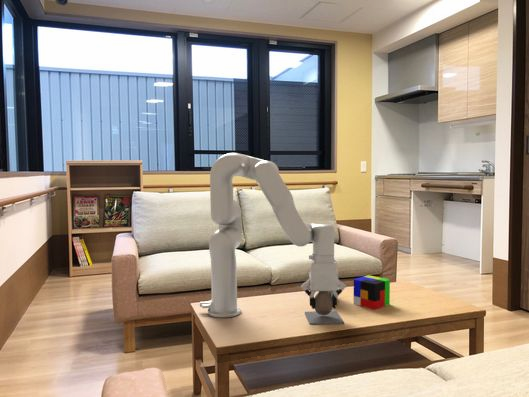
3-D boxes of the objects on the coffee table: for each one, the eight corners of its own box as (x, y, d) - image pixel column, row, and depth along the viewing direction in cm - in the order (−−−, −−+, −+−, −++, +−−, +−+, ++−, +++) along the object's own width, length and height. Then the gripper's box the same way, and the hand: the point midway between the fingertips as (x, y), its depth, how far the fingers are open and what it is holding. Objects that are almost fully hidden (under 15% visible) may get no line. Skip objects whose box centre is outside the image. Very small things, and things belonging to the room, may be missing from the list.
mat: (309, 324, 145) (309, 323, 145) (304, 313, 157) (304, 311, 157) (344, 323, 146) (344, 322, 146) (336, 312, 158) (336, 310, 158)
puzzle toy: (353, 304, 168) (353, 279, 167) (368, 299, 174) (368, 275, 174) (375, 310, 160) (375, 284, 160) (389, 304, 167) (389, 279, 166)
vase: (332, 317, 147) (332, 292, 147) (312, 315, 149) (312, 291, 148) (333, 310, 154) (333, 287, 154) (314, 309, 155) (314, 286, 155)
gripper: (300, 261, 146) (300, 311, 147) (350, 260, 147) (349, 310, 148) (297, 256, 153) (297, 304, 155) (345, 256, 154) (344, 303, 155)
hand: (323, 307), depth 151 cm, fingers closed on vase, 6 cm apart
